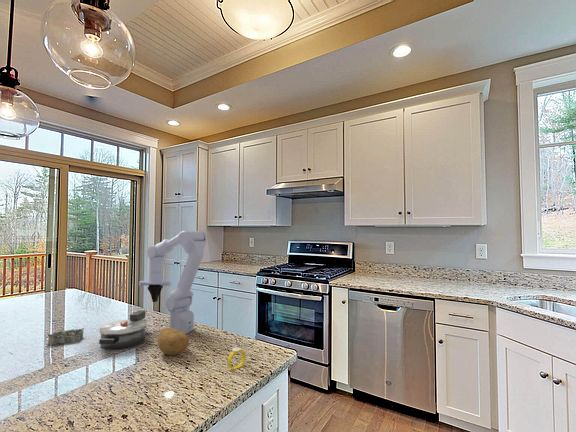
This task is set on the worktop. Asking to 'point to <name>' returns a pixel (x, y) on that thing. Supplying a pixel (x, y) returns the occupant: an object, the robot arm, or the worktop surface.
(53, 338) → the egg carton
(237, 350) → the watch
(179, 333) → the potato
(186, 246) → the robot arm
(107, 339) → the cooker pot
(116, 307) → the worktop surface
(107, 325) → the lid
